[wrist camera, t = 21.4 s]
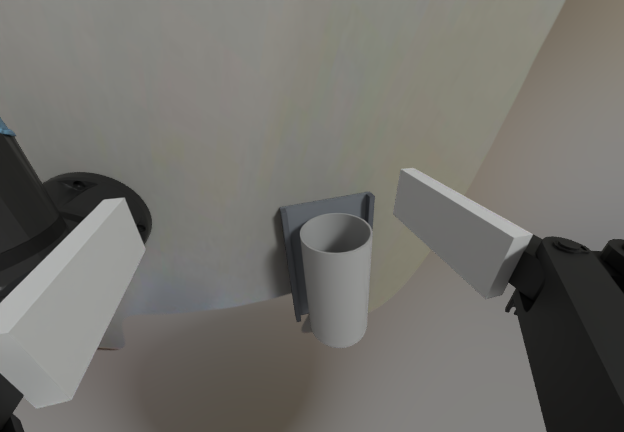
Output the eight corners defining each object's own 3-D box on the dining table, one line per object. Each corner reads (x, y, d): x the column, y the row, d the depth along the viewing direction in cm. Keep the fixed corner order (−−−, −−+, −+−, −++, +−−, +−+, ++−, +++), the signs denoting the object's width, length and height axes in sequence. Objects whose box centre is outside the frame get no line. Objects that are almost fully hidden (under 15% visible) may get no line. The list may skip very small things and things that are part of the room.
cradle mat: (363, 297, 66) (367, 303, 64) (295, 314, 63) (296, 322, 61) (369, 191, 51) (374, 196, 49) (279, 207, 47) (281, 213, 46)
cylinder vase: (343, 362, 50) (341, 265, 37) (299, 325, 58) (285, 234, 45) (377, 320, 57) (386, 227, 45) (334, 292, 65) (331, 206, 52)
